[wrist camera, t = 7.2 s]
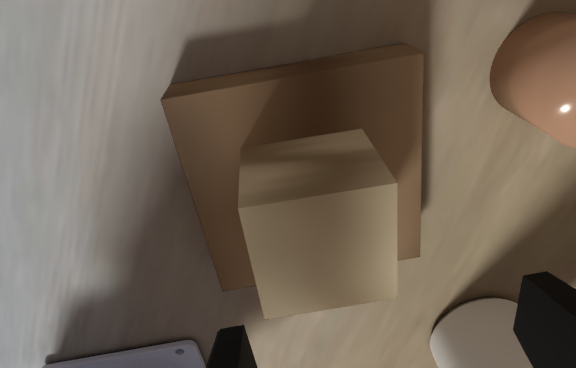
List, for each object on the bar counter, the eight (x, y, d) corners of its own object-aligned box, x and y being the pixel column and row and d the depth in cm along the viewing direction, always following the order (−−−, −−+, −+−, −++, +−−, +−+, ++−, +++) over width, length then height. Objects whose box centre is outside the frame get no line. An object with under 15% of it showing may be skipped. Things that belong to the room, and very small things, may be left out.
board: (224, 264, 22) (222, 291, 20) (169, 84, 17) (160, 99, 15) (406, 232, 22) (419, 256, 20) (405, 43, 17) (423, 53, 15)
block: (261, 244, 19) (264, 319, 15) (240, 148, 16) (237, 208, 12) (366, 227, 19) (397, 298, 15) (362, 128, 16) (397, 183, 12)
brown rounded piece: (484, 120, 19) (537, 157, 15) (494, 21, 17) (559, 39, 13) (577, 104, 19) (650, 137, 15) (599, 3, 17) (691, 16, 13)
